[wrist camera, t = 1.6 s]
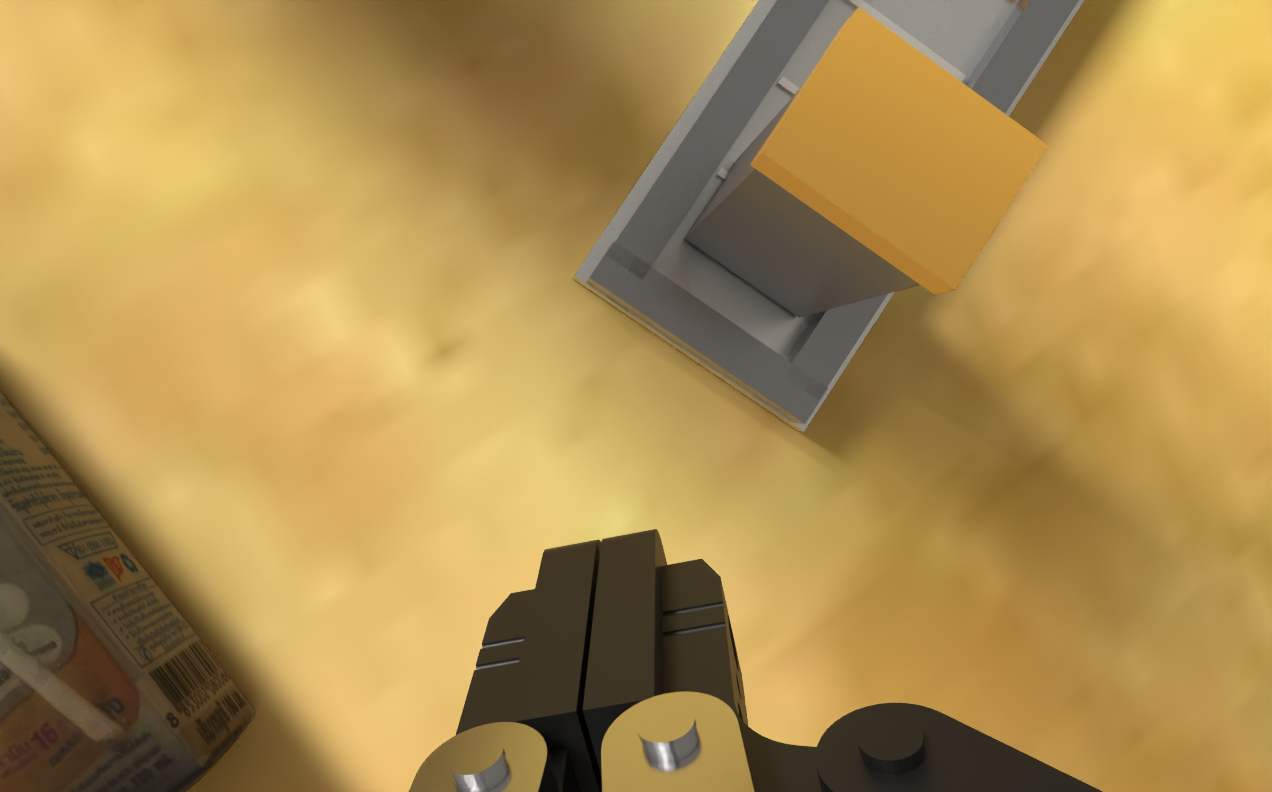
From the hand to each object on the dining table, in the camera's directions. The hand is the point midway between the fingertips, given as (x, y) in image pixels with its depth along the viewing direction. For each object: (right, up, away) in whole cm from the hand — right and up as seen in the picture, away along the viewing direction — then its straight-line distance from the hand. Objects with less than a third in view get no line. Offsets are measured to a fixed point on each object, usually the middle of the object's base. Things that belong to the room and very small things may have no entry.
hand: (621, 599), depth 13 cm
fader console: (+9, +14, +24) cm, 29 cm away
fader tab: (+5, +8, +23) cm, 25 cm away
